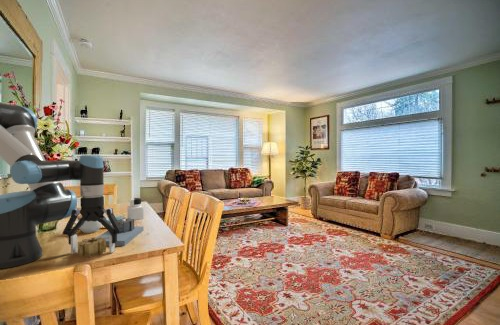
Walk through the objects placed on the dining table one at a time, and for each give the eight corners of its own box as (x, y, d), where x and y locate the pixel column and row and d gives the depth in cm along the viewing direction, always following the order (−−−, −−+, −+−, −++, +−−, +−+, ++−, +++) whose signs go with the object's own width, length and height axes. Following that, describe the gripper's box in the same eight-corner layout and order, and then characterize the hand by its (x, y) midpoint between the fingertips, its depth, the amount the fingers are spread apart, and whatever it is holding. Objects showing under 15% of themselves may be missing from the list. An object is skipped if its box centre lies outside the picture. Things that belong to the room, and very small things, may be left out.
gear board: (88, 246, 104) (88, 229, 104) (114, 230, 126) (114, 216, 126) (124, 245, 105) (124, 228, 105) (143, 230, 127) (143, 216, 127)
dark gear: (110, 233, 115) (110, 223, 115) (115, 228, 124) (115, 218, 123) (131, 232, 117) (131, 222, 117) (135, 226, 126) (135, 217, 126)
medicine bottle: (140, 216, 156) (139, 196, 156) (143, 218, 150) (143, 198, 150) (127, 218, 151) (127, 198, 151) (130, 220, 146) (130, 199, 146)
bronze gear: (72, 257, 93) (72, 244, 92) (86, 248, 101) (86, 237, 101) (98, 256, 93) (98, 244, 93) (110, 248, 102) (110, 236, 102)
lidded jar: (108, 228, 130) (108, 210, 130) (93, 234, 119) (93, 214, 119) (88, 227, 131) (88, 209, 131) (71, 234, 120) (71, 214, 120)
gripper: (50, 198, 92) (51, 257, 93) (122, 197, 94) (123, 254, 94) (64, 195, 100) (65, 249, 100) (130, 194, 101) (131, 247, 102)
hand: (93, 252), depth 97 cm, fingers open, 13 cm apart
